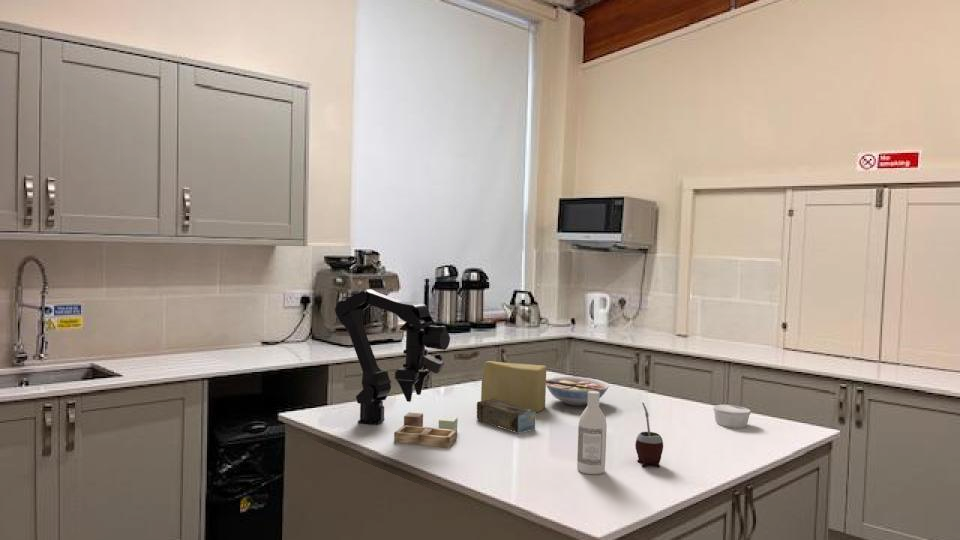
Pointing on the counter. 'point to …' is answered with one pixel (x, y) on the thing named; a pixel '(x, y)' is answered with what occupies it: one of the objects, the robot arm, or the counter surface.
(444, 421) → the sage cube
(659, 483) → the counter surface
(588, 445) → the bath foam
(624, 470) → the counter surface
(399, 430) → the box
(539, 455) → the counter surface
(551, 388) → the ramen bowl
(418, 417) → the walnut cube
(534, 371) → the cheese
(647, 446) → the mate gourd
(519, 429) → the beverage carton
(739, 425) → the ramekin
